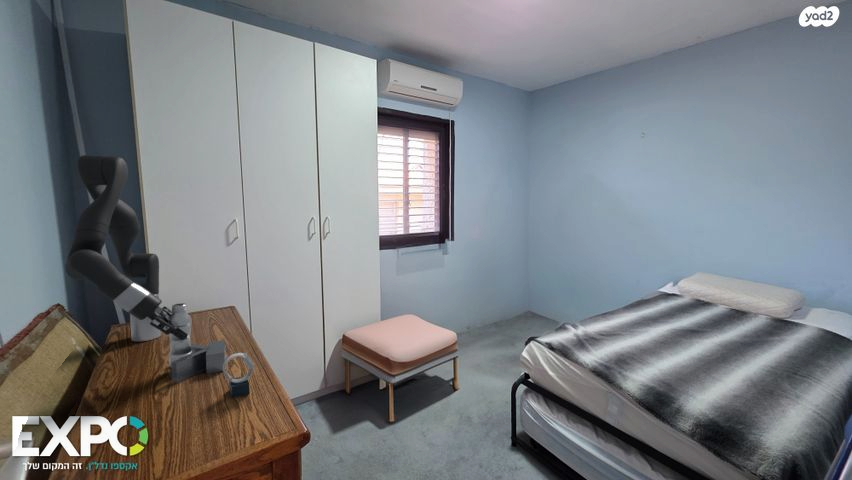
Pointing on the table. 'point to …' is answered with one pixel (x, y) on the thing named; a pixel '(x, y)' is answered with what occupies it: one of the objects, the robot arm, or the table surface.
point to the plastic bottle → (184, 323)
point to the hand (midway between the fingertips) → (186, 334)
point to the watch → (239, 384)
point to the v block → (200, 361)
